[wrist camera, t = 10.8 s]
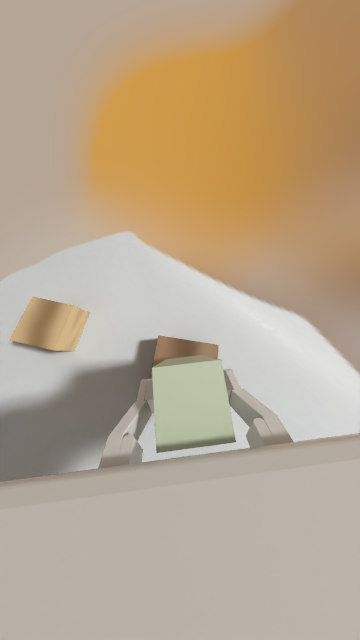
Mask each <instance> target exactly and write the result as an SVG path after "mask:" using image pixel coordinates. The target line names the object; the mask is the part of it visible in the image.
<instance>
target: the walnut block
mask: <svg viewBox="0 0 360 640" xmlns="http://www.w3.org/2000/svg"><path fill="white" fill-rule="evenodd" d="M198 355H201V356H206V357H211V358H216V359H217V357H218V345H215V344H209V343H202V342H196V341H190V340H183V339H177V338H171V337H165V336H158V340H157V345H156V350H155V355H154V360H153V365H152V367H154V366H156V365H157V364H159V363H161V362H162V361H164V360H166V359H172V358H180V357H189V356H198ZM151 378H152V370H151V375H150V379H151Z"/></svg>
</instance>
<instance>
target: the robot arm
mask: <svg viewBox="0 0 360 640" xmlns="http://www.w3.org/2000/svg"><path fill="white" fill-rule="evenodd" d="M223 372H224V378H225V383H226V389H227V395H228V400H229V405H230V406H231V407H232V408H233V409H234V410H235V412H236V413H237V414H238V415H239V416H240V417H241V418H242V419H243V420H244V421H245V423H246V424H247V425H248V426H249V427H250V428H249V430H248V432H247V435H246V438H247V440H248V443H249V445H250V448H246V449H239V450H231V451H224V452H216V453H209V454H202V455H194V456H187V457H179V458H172V459H165V460H157V461H150V462H143V463H141V462H142V453H143V449H142V448H141V446H140V445H139V443H138V442H137V440H138V439H139V437H140V435H141V433H142V431H143V429H144V427H145V425H146V424H147V422H148V420H149V418H150V416H151V413H154V398H153V380H152V378H151V379H141V382H140V386H139V391H138V396H137V401H136V402H134V403H133V405H132V406H131V407H130V409H129V410H128V411H127V413H126V414H125V415H124V416H123V418H122V419H121V420H120V422H119V423H118V424H117V426H116V427H115V428H114V430H113V431H112V432H111V434H110V435H109V436H108V439H107V442H106V445H105V448H104V452H103V455H102V458H101V461H100V464H99V468H98V469H91V470H83V471H76V472H69V473H61V474H54V475H47V476H39V477H32V478H24V479H17V480H10V481H2V482H0V640H360V433H357V434H349V435H342V436H335V437H327V438H320V439H312V440H305V441H298V442H293V440H292V439H291V437H290V435H289V434H288V432H287V431H286V429H285V427H284V426H283V424H282V423H281V421H280V419H279V418H278V416H277V415H276V414H275V413H273V412H272V411H271V410H270V409H268V408H267V407H266V406H265V405H263V404H262V403H261V402H260V401H258V400H257V399H256V398H254V397H253V396H252V395H251V394H249V393H248V392H247V391H246V390H244V389H241V387H240V385H239V383H238V381H237V379H236V377H235V375H234V373H233V371H232V370H231V369H226V370H223Z"/></svg>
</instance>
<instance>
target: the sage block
mask: <svg viewBox="0 0 360 640" xmlns="http://www.w3.org/2000/svg"><path fill="white" fill-rule="evenodd" d="M152 380H153V398H154V415H155V433H156V451H157V453H159V452H166V451H173V450H181V449H188V448H196V447H203V446H211V445H218V444H225V443H233V442H236V440H235V434H234V429H233V423H232V417H231V412H230V406H229V400H228V395H227V389H226V383H225V378H224V372H223V367H222V361H221V360H220V359H216V358H211V357H206V356H201V355H198V356H189V357H180V358H172V359H166V360H164V361H162V362H161V363H159V364H157V365H156V366H154V367H152Z"/></svg>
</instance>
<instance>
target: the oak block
mask: <svg viewBox="0 0 360 640" xmlns="http://www.w3.org/2000/svg"><path fill="white" fill-rule="evenodd" d="M89 314H90V313H89V312H87V311H85V310H82V309H80V308H78V307H76V306H73V305H68V304H64V303H59V302H55V301H50V300H45V299H41V298H36V297H32V299H31V301H30V302H29V304H28V306H27V308H26V310H25V312H24V314H23V316H22V317H21V319H20V321H19V323H18V325H17V327H16V329H15V330H14V332H13V334H12V336H11V338H10V340H12V341H16V342H20V343H24V344H28V345H33V346H37V347H41V348H45V349H49V350H53V351H75V349H76V346H77V344H78V341H79V339H80V336H81V334H82V331H83V329H84V326H85V324H86V321H87V319H88V317H89Z"/></svg>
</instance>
